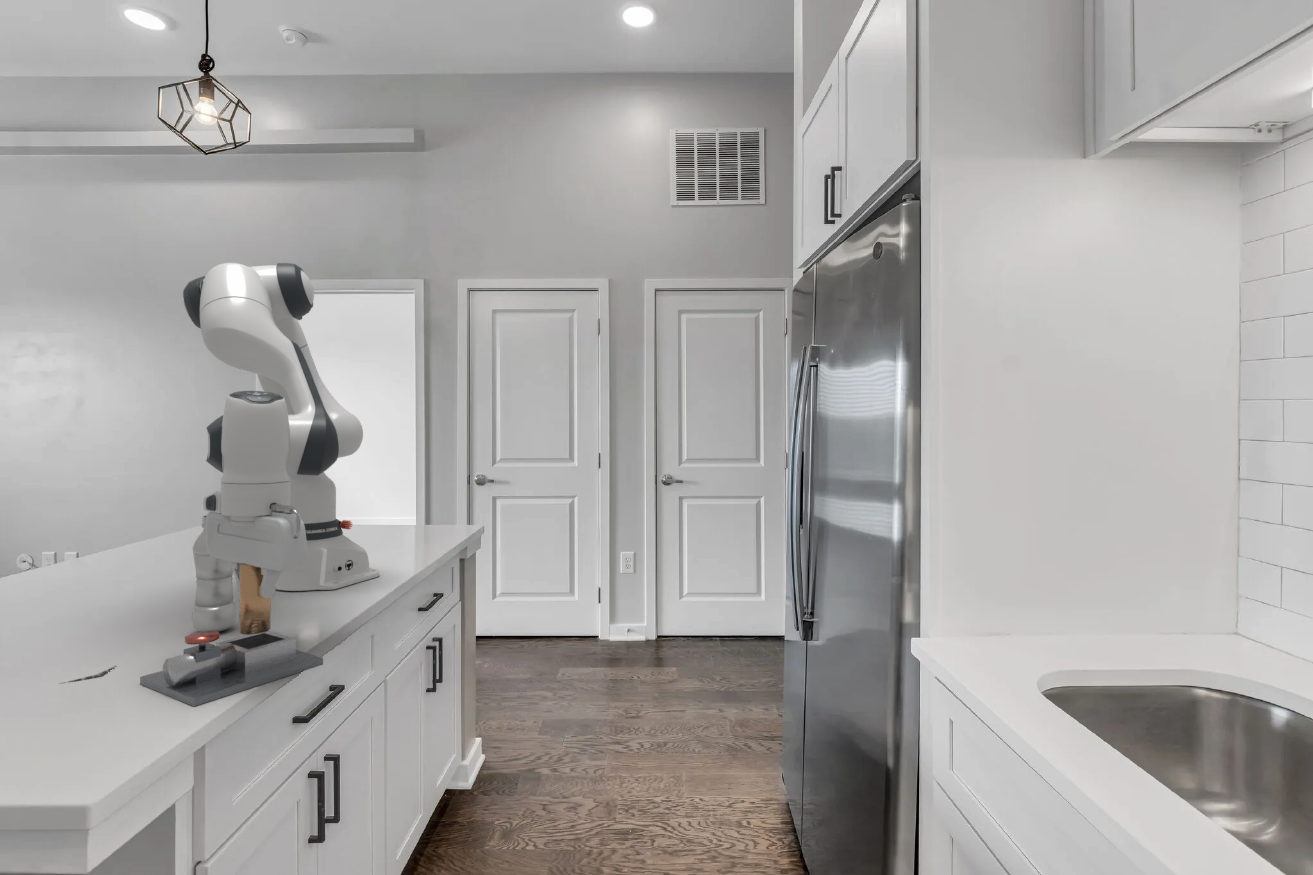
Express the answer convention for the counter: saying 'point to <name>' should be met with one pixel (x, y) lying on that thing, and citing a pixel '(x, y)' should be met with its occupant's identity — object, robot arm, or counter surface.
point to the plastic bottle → (212, 589)
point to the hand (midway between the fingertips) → (255, 594)
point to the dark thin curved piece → (93, 675)
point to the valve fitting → (228, 666)
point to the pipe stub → (252, 602)
